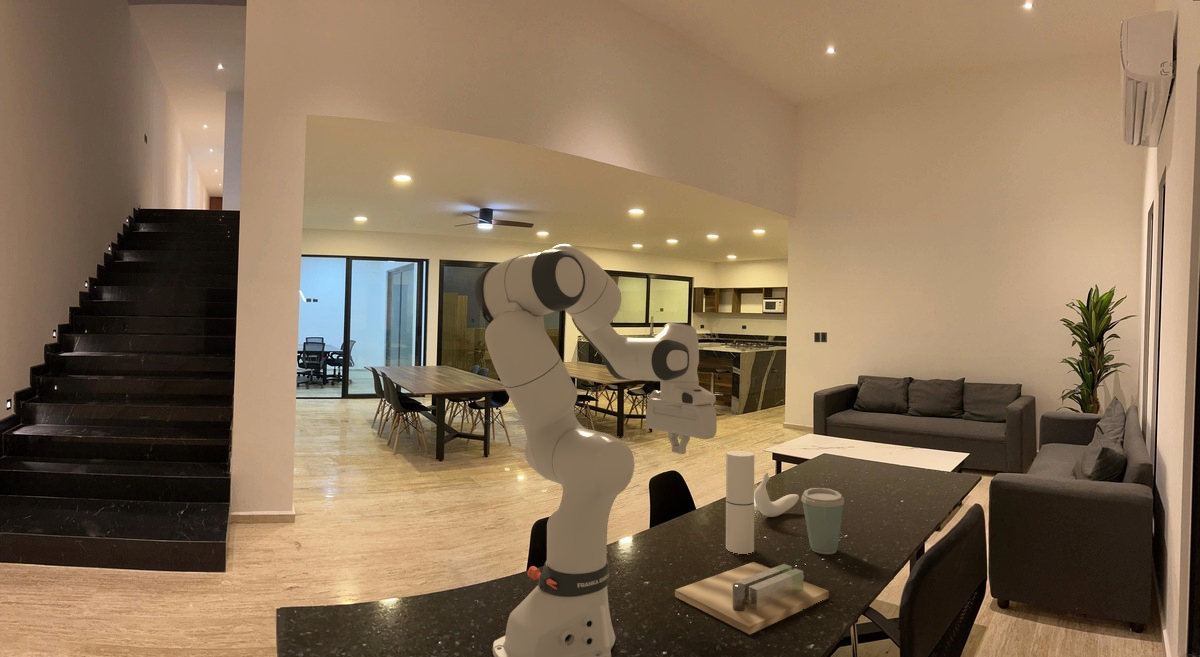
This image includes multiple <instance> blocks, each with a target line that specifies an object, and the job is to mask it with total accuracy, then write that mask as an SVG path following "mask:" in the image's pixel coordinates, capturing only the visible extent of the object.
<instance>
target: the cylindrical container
mask: <svg viewBox="0 0 1200 657" xmlns="http://www.w3.org/2000/svg"><path fill="white" fill-rule="evenodd" d="M725 453H726V454H725V461H726V462H725V550H726V549H727V550H728V551H730V552H733V553H732V554H734V553H738V554H737V555H739V554H747V555H749V554H748V553H751V554H753V553H754V552H755V453H754V452H752V451H747V450H728V451H726V452H725ZM727 550H726V551H727ZM728 551H727V552H728ZM730 552H729V553H730ZM752 552H753V553H752Z"/></svg>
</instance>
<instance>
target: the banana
mask: <svg viewBox="0 0 1200 657" xmlns="http://www.w3.org/2000/svg"><path fill="white" fill-rule="evenodd" d="M769 480H771V478H770V476H769V472H766V473H764V474H763V476H762V480H761V482H760V484H759V485H757V487H756V488H755V489H754V504H755V505H756V508H757V510H758V511H759V512H760V513H761V514H762V515H764V516H766V517H768V518H776V517H778V516H780V515H783V513H785V512H787V511H789V510H790V509H791V508H793V507H794V506H795V505H796V504H797V502H798V501H799V499H800V496H799V494H796V493H792V494H791V493H790V494H786V495H785V496H784V495H783V496H782V497H780V498H778V499H776V500H775V501H771V499H770V497H769V493H768V490H767V487H766V486H767V483H768V481H769Z"/></svg>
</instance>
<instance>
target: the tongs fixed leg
mask: <svg viewBox="0 0 1200 657" xmlns="http://www.w3.org/2000/svg"><path fill="white" fill-rule="evenodd" d="M803 581H804V570H802V569H798V568H792V570H790V571H787V572H785V573H782V574H780V575H777V576H775V577H772V578H769V579H767V580H764V581H762V582H759V583H757V584H754V585H751V586H749V607H751V608H753V609H756V610H758V609H760V608H763V607H765V606H767V605H770V604H772V603H774V602H777V601H779V600H781V599H784V598H786V597H788V596H791V595H793V594H795V593H798V592H800V591H802V590H803Z"/></svg>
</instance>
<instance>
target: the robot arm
mask: <svg viewBox="0 0 1200 657" xmlns="http://www.w3.org/2000/svg"><path fill="white" fill-rule="evenodd" d="M474 291H475V292H474V294H475V295H474V296H475V299H476V303H477V306H478V309H479V310H480V312H481V316H482V318H483V319H484V321H485V322H486V323H487V324H488V325H487V327H486V330H485V333H484V339H485V344H486V347H487V351H488V354H489V357H490V359H491V362H492V364H493V368H494V369H495V371H496V374H497V375H498V376H497V377H498V378H499V379H500V382H501V384H502V386H503V388H504V390H505V392H506V394H507V395H508V397H509V399H510V400H511V402H512V404H513V406H514V408H515V410H516V412H517V414H518V416H519V418H520V421H521V422H522V424H523V428H524V432H525V436H526V442H525V448H524V454H525V459H526V462H527V464H528V466H529V467H530V468H531V469H533V471H535V472H536V473H537V474H538V475H539V476H541V477H543V478H544V479H546V480H547V481H550V482H554V483H556V484H558V485H559V484H560V485H561V486H562V495H561V499H560V500H561V501H560V502H559V506H558V509H557V510H556V511H554V512H553V513H551V515H550V516H549V518H548V520H547V523H546V560H545V562H544V564H543V567H542V570H541V569H539V568H537V567H536V566H534V565H532V566H530V567H529V568H528V570H527V576H528V577H529V578H530V579H532V580H534V581H538V582H537V584H538V585H536V586H535V588H534V589H533V590H532V591H530V593H529V594H528V595H527V596H526V597H525V599H523V600H522V601H521V602H520V603H519V604H518V605H517V606H516V607H515V608H514V609H513V610H512V611H511V612H510V614H509V617H508V618H507V619H508V620H507V622H506V628H505V629H506V630H505V635H503V636H501V637H499V638H498V639H495V640H494V641H493V645H492V655H493V657H612V652H611V650H612V648H613V647H614V645H615V643H616V634H615V631H614V627H613V624H612V619H611V612H610V605H609V596H608V592H609V591H608V584H609V583H610V562H609V560H608V559H607V556H608V555H607V552H608V551H607V550H608V549H607V548H608V547H607V546H608V527H609V526H608V523H609V517H610V513H611V511H612V507H613V505H614V503H615V500H616V498H617V497H618V495H620V494H621V493H623V492H624V491H625V490H626V488H627V487H628V486H629V485H630V483H631V481H632V480H633V476H634V473H635V458H634V454H633V451H632V450H631V448H630V447H629V446H628V445H627V444H626V443H625V442H623V441H621V440H620V439H618V438H616V437H615V436H613V435H611V434H610V433H607V432H602V431H598V430H594V429H593V430H592V429H589V428H586V427H584V426H583V425H582V424H581V422H579V421H578V419H577V415H576V413H575V412H576V411H575V408H574V407H575V404H576V402H577V399H578V391H577V387H576V386H575V384H574V382H573V380H572V378H571V376H570V373H569V371H568V369H567V368H566V366H565V364H564V361H563V360H562V358H561V356H560V353H559V351H558V350H557V348H556V346H555V345H554V343H553V341H552V339H551V338H550V337H549V335H548V333H547V332H546V328H545V321H544V320H545V319H544V316H545V315H549V314H551V313H554V312H563V311H565V312H566V313H567V314H568V315H569V316H570V317H571V320H572V323H573V325H574V326H575V328H576V329H577V330H578V332H580V334H581V335H582V337H583V338H585V340H586V341H587V342H588V343H589V344H590V345H591V347H592V348H593V349H594V350H595V351H596V352H597V353H598V355H599V356H600V357H601V359H602V360H603V362H604V365H605V366H606V369H607V370H608V373H610V375H611V376H612V377H613V378H615V380H620V381H629V380H630V381H631V380H635V381H636V380H637V381H645V382H647V381H648V382H650V381H652V382H660V390H656V389H655V390H653V391H651V392H650V394H649V396H648V402H647V405H646V410H645V412H646V414H645V425H646V428H647V429H651V430H655V431H661V432H665V433H667V437H668V439H669V440H668V441H669V443H670V445H671V452H672V453H675V454H679V455H685V454H686V452H687V446H688V444H689V442H690V440H691V438H694V439H695V438H696V439H700V440H710V439H714V437H715V436H716V434H717V428H718V427H717V411H716V408H715V406H714V404H716V401H717V400H716V399H717V397H716V395H715V393H713V392H712V391H709V390H707V389H705V388H704V387H702V386H701V385H700V384H699V382H700V380H699V375H698V366H699V363H700V350H699V349H700V348H699V347H700V346H699V337H698V333H697V330H696V328H695V327H694V326H693V325H691V324H687V323H681V322H679V323H678V322H677V323H676V322H668V323H666V324H664V325H663V329H662V330H661V331H660V332H659V333H658V334H656V335H654V336H653V337H631V336H626V335H625V336H624V335H621V334H619V333H617V331H616V330H615V329H614V327H613V326H612V325H611V323H612V322H613V321H614V319H615V318H616V316H617V315H618V313H619V311H620V309H621V304H622V293H621V289H620V288H619V286H618V284H617V282H616V281H614V279H613V278H612V277H611V276H610V275H609V274H608V272H606V271H605V270H604V269H603V268H602V266H601V265H599V264H598V263H597V262H596V261H595V260H594V259H593V258H591V257H590V256H588V255H587V254H586V253H584V252H583V251H582V250H580V249H579V248H577V247H575V246H574V245H572V244H567V243H561V244H556V245H554V246H553V247H551V248H550V249H545V250H544V251H542V252H535V253H531V254H522V255H518V256H514V257H510V258H508V259H506V260H504V261H502V262H497V263H494V264H492V265H490V266H488V267H487V268H485V269H484V270H483V271H482V272H480V273H479V275H478V276H477V278H476V281H475V286H474ZM678 439H679V440H680V441H679V440H678Z"/></svg>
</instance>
